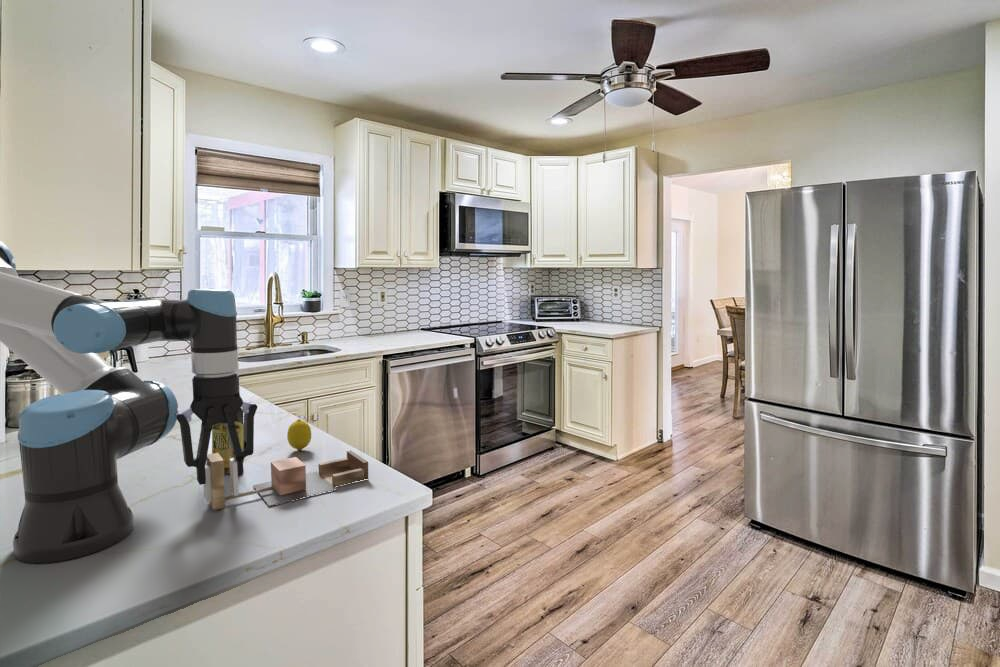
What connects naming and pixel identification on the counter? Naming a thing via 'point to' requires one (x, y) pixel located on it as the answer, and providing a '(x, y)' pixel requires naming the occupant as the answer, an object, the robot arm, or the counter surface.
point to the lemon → (299, 434)
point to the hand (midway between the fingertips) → (221, 496)
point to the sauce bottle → (227, 440)
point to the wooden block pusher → (283, 478)
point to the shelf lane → (322, 479)
